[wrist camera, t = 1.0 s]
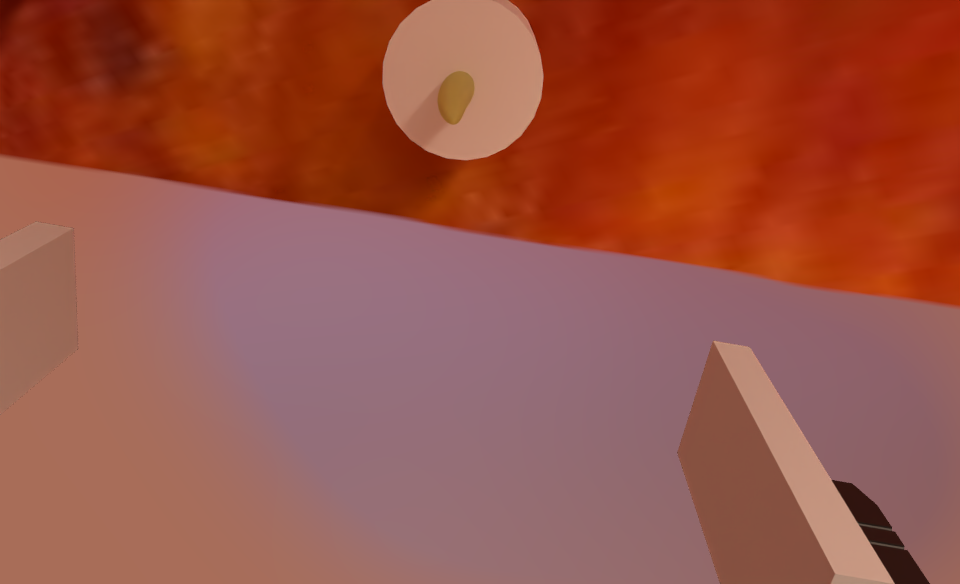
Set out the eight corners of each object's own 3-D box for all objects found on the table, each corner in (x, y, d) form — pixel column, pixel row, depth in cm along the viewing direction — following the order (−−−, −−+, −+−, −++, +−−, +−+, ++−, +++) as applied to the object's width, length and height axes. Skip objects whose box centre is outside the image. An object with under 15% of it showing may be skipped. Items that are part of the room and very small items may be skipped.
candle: (535, -18, 38) (546, -17, 24) (538, 115, 41) (549, 184, 27) (410, -12, 39) (349, -7, 25) (419, 119, 41) (369, 190, 27)
